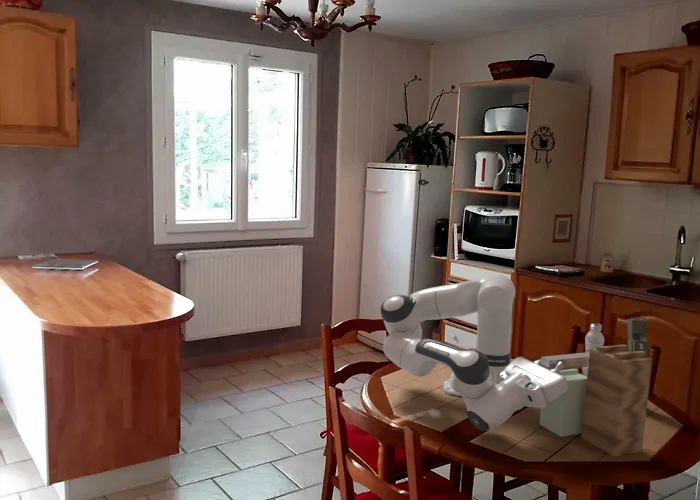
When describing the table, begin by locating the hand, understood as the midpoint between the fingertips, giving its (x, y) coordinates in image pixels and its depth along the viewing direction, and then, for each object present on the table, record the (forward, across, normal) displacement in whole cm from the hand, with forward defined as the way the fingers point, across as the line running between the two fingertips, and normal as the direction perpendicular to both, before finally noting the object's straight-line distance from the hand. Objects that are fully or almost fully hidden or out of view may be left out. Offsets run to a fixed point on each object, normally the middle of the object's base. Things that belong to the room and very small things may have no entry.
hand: (555, 361), depth 178 cm
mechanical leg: (+24, -8, -38) cm, 46 cm away
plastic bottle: (+32, -34, -42) cm, 63 cm away
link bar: (+4, 0, -4) cm, 6 cm away
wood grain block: (-1, +13, -23) cm, 27 cm away
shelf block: (-5, 0, -21) cm, 22 cm away
